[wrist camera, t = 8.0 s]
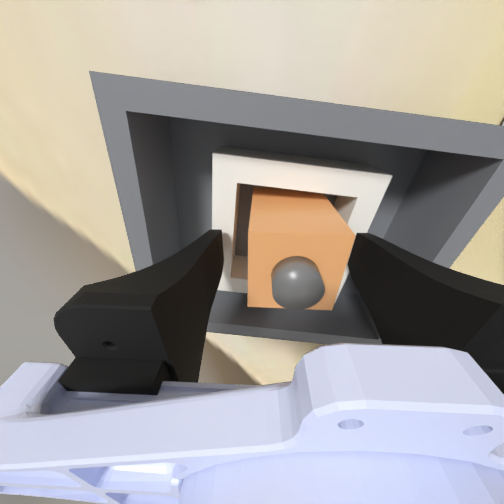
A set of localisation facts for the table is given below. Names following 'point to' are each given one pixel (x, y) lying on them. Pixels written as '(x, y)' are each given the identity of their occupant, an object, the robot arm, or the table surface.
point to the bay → (290, 184)
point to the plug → (295, 250)
